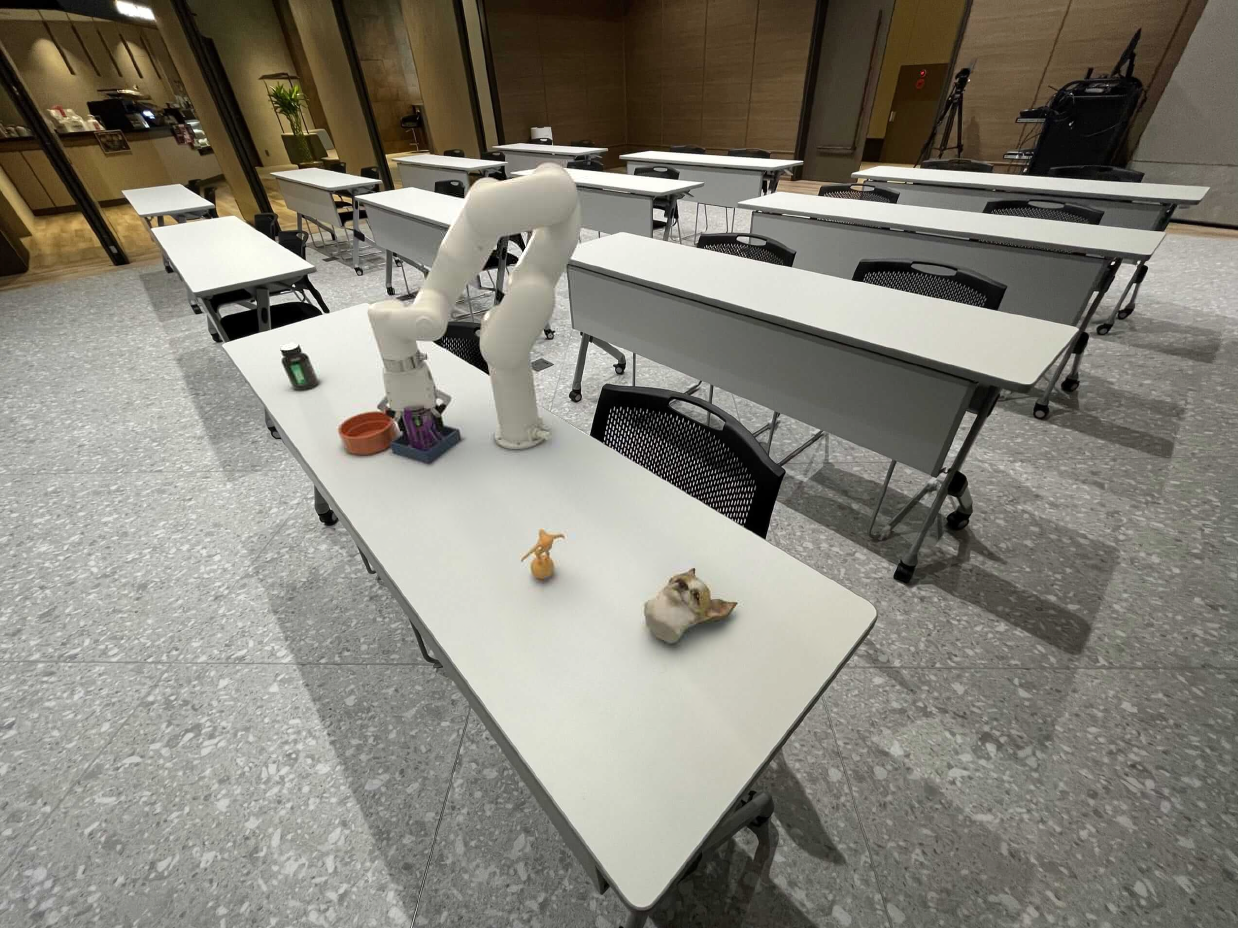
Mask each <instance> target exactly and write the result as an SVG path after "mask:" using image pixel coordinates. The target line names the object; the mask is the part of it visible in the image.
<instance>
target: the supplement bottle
mask: <svg viewBox="0 0 1238 928" xmlns="http://www.w3.org/2000/svg"><path fill="white" fill-rule="evenodd" d="M279 350H280V352H281V355H282V358H281V366H282V367H283V369H284V371H285V373H286V376H287V378H288V380H289V383H290V384H291V387H292V388H293V389H294V390H295V391H307V390H311V389H313V388H315V387H317V386H318V384H319V379H318V376H317V374H316V372H315V368H314V367H313V364H312V362H311V360H310V357H309V356H308V354H306V353H305V352H303V349H302V348H301V346H300V344H298V343H290V344H286V345H283V346H281V347H280V349H279Z"/></svg>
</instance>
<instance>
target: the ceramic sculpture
mask: <svg viewBox="0 0 1238 928" xmlns="http://www.w3.org/2000/svg"><path fill="white" fill-rule="evenodd" d="M738 604H739V602H738V601H726V600H723V599H721V598H711V591H710V588H709V587H708V585H707V584H706V583H705V582H703V581H702V580H701V579H700V578H698V577H697V576H696V568H695V567H692V568H691V569H689V570H688V571H686V572H684V573H680V574H675V575H674V576H673V577H671V578H669V581H668V583H667V584H666V585H665V586H664V587H663V589H661V590H660V591H659V593H658V594H657V595H656V597H654V598H652V599H649V600H647V601H645V602H644V603H643V606H644V609H643V615H644V619H645V624H646V627H648V628H649V629H650V631H651V633H652V635H653V636H654V637H655V638H657V639H659V640H661V641H663V642H664V643H667V644H674V643H676V642H678V641H679V639H680V638H681V637H682V635H683V634H684V632H685V631H686V630H687V629H689V628H691V627H693V626H695V625H697V624H699V623H715V622H716V623H717V622H719V621H722V620H724V619H727V617H728V616H730V614H731V613H732V612H733V611H734V609H735V608H736V606H737V605H738Z"/></svg>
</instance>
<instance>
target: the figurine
mask: <svg viewBox="0 0 1238 928" xmlns="http://www.w3.org/2000/svg"><path fill="white" fill-rule="evenodd" d="M538 536H539V539H538V540H537V542H536V544H535V545H534V546H533V547H531V549H530V550H529V551H528V552H527V553H526V554H525V555H524V556H523V557H522V558H521V560H520V562H521V564H522V563H523V562H524V560H525V559H527V558H528V557H530V555H531V554H534V555H535V557H534V558H533V559H532V561H531V563H530V571H531V572H530V573H531V574H532V576H533V577H535V578H537V579H539V580H540V579H541V580H544V579H547V578H549V577H550V576H551V575H553V573H554V570H555V564H554V561H553V559H552V558H551V557H550V556H551V555H550V554H551V553H550V550H551V549H553V544H554V540H556V539H560V538H561V539H564V540H565V535H564V534H563V533H556V534H549V533H547V532H546V531H545V530H544V529H541V528H540V529H539V531H538ZM543 553H545V554H543Z"/></svg>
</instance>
